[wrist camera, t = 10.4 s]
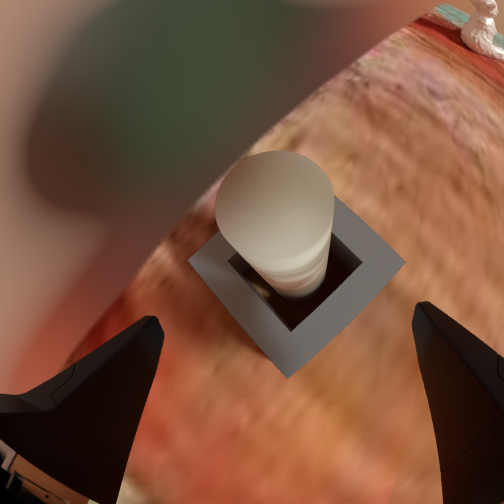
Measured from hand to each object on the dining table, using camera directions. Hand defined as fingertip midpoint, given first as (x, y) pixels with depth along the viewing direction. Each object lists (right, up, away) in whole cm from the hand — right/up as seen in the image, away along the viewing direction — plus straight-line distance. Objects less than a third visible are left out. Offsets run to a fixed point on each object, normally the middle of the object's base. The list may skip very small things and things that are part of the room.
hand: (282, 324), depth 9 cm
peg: (+3, +1, +12) cm, 12 cm away
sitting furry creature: (+36, +36, +15) cm, 53 cm away
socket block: (+2, +1, +12) cm, 12 cm away
